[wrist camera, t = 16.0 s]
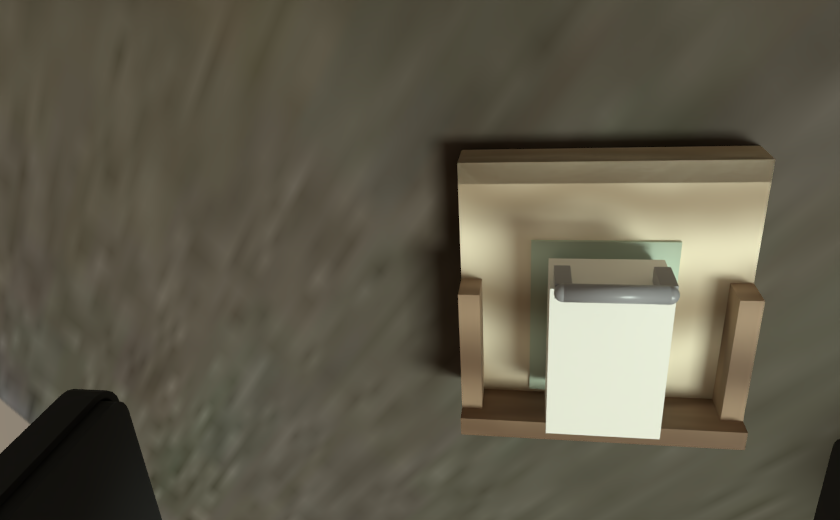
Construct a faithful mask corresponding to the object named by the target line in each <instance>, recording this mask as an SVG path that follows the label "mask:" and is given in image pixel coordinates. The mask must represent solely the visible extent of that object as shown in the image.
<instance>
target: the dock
mask: <svg viewBox="0 0 840 520" xmlns="http://www.w3.org/2000/svg"><path fill="white" fill-rule="evenodd" d="M774 164H775V159H774V158H773V157H772V156H771V155H770V154H769V153H768V152H767V151H766V150H764V149H763V148H762V147H761V146H698V147H629V148H561V149H493V150H462V151H461V153H460V156H459V159H458V162H457V172H458V199H459V226H460V253H461V283H460V287H459V292H458V309H459V334H460V359H461V385H462V414H461V434H466V435H484V436H502V437H520V438H538V439H556V440H574V441H592V442H610V443H628V444H646V445H664V446H682V447H700V448H718V449H736V450H745V446H746V440H747V435H748V432H747V430H746V428H745V425H744V423H743V418H744V413H745V407H746V402H747V396H748V391H749V385H750V380H751V375H752V369H753V364H754V358H755V353H756V347H757V342H758V337H759V331H760V326H761V320H762V315H763V309H764V304H765V301H764V299H763V297H762V296H761V294H760V293H759V291H758V289H757V288H756V286H755V285H754V279H755V273H756V267H757V262H758V256H759V250H760V244H761V239H762V233H763V227H764V221H765V216H766V210H767V204H768V198H769V193H770V187H771V181H772V175H773V170H774ZM549 258H561V259H638V260H665V262H666V264H667V267H671V268H672V271H673V273H674V275H675V278H676V280H677V283H678V285H679V292H680V298H679V300H678V301H677V302H676V308H675V316H674V324H673V332H672V341H671V349H670V357H669V366H668V374H667V382H666V390H665V399H664V407H663V415H662V423H661V432H660V439H644V438H625V437H607V436H589V435H571V434H553V433H546V421H545V372H546V335H547V298H548V260H549Z"/></svg>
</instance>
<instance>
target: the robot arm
mask: <svg viewBox="0 0 840 520" xmlns="http://www.w3.org/2000/svg"><path fill="white" fill-rule="evenodd" d="M0 520H162V518H161V515H160V512H159V508H158V505H157V502H156V499H155V495H154V492H153V489H152V485H151V482H150V479H149V476H148V472H147V469H146V466H145V463H144V459H143V456H142V453H141V449H140V446H139V443H138V440H137V436H136V433H135V430H134V426H133V423H132V420H131V417H130V413H129V410H128V408H127V406H126V405H125V404H124V403H123V402H119V400H118V397H117V396H116V395H115V394H114V393H113V392H110V391H104V390H83V389H72V390H68V391H66V392H65V393H63V394H62V395H61V396H60V397H59V398H58V399H57V400H56V401H55V402H54V403H52V404H51V405H50V406H49V407H48V408H47V409H46V410H45V411H44V412H43V413H42V414H41V415H40V416H39V417H38V418H37V419H36V420H35V421H34V422H33V423H32V424H31V425H30V426H29V427H28V428H27V429H25V431H23V432H22V433H21V434H20V436H19V437H17V438H16V439H15V440H14V441H13V442H12V443H11V444H10V445H9V446H8V447H7V448H6V449H5V450H4V451H3V452H2V453H1V454H0ZM814 520H840V439H839V440H837V441H836V442H835V443H834V445H833V448H832V452H831V455H830V459H829V463H828V467H827V471H826V474H825V478H824V482H823V486H822V490H821V494H820V497H819V501H818V505H817V509H816V513H815V517H814Z"/></svg>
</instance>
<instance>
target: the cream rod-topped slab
mask: <svg viewBox="0 0 840 520" xmlns="http://www.w3.org/2000/svg"><path fill="white" fill-rule="evenodd" d="M679 298H680V292H679V285H678V283H677V280H676V278H675V275H674V273H673V271H672V268H671V267H667V264H666V262H665V260H638V259H561V258H549V260H548V298H547V335H546V372H545V421H546V433H553V434H571V435H589V436H607V437H625V438H644V439H660V432H661V423H662V415H663V407H664V399H665V390H666V382H667V374H668V366H669V357H670V349H671V341H672V332H673V324H674V316H675V308H676V302H677V301H678V300H679Z"/></svg>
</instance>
